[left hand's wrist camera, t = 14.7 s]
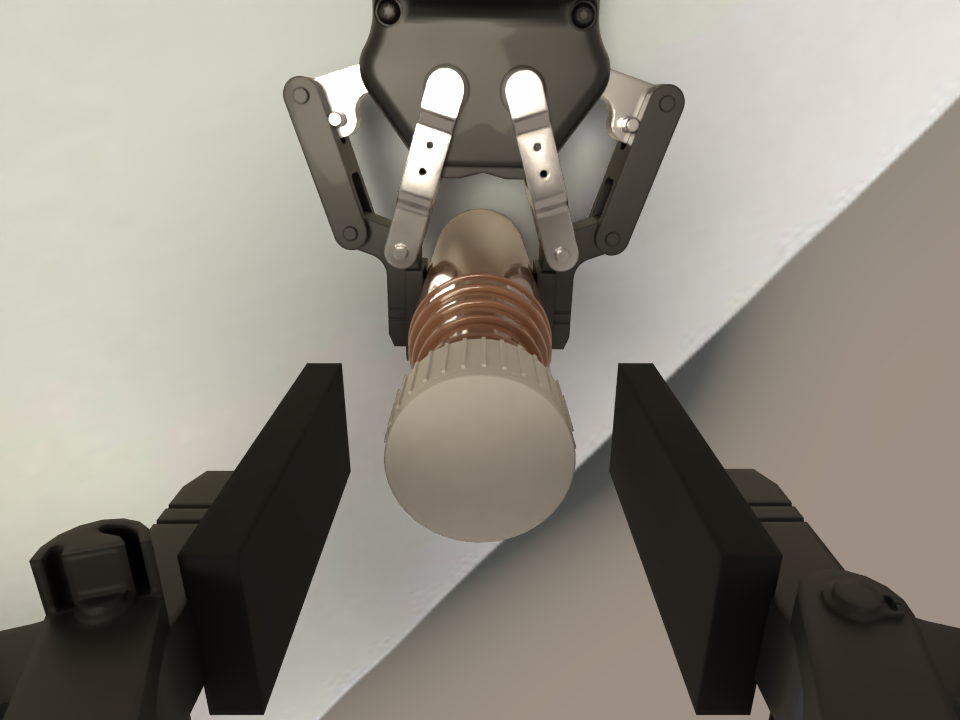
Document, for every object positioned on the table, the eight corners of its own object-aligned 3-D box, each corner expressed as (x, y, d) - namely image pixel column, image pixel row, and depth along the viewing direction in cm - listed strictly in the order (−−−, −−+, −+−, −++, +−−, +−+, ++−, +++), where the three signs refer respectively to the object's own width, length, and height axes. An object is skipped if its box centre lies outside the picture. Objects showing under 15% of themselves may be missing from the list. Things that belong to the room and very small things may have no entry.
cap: (600, 402, 15) (619, 448, 13) (492, 516, 16) (494, 576, 14) (465, 299, 14) (462, 332, 12) (361, 427, 15) (342, 477, 13)
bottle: (442, 302, 32) (394, 546, 14) (429, 214, 30) (357, 365, 13) (528, 291, 32) (590, 526, 14) (519, 203, 30) (576, 340, 12)
